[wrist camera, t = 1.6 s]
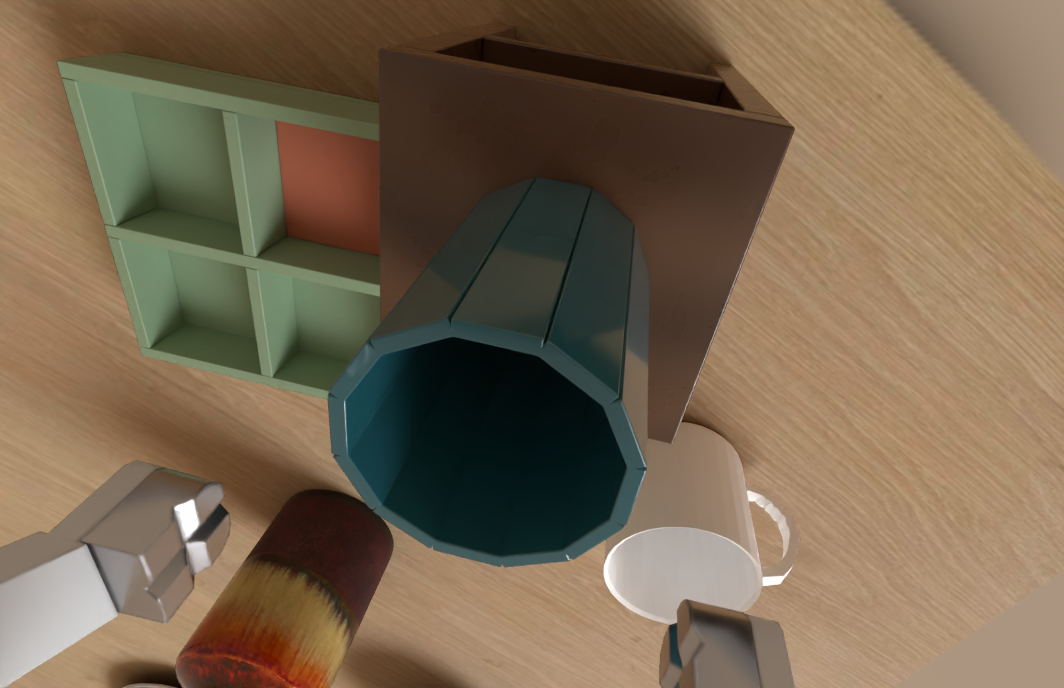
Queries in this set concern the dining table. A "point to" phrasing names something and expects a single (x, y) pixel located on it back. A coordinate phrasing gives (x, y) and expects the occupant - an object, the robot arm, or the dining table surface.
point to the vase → (292, 599)
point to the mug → (694, 531)
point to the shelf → (582, 170)
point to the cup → (508, 383)
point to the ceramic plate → (147, 686)
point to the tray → (235, 215)
